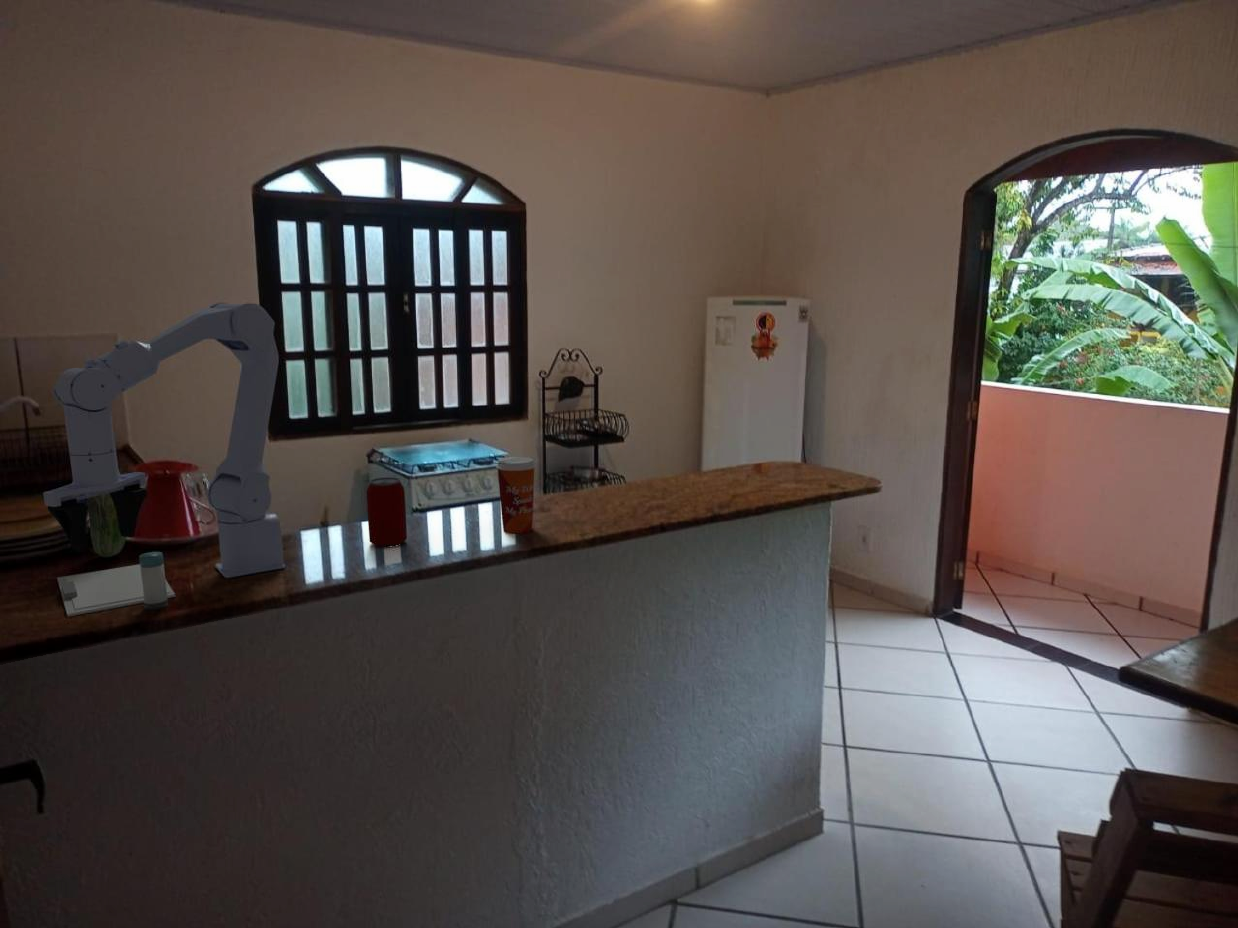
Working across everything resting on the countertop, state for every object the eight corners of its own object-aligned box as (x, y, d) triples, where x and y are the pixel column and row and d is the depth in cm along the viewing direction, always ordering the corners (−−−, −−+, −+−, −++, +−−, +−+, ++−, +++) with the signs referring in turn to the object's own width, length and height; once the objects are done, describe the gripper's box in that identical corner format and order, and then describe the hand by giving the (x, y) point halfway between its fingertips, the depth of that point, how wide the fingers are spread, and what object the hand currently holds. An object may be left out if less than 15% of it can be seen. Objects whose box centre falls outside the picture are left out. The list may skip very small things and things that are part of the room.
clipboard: (154, 564, 147) (153, 556, 147) (175, 596, 131) (174, 587, 131) (57, 580, 139) (56, 571, 138) (67, 616, 123) (66, 607, 123)
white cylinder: (166, 601, 129) (160, 550, 127) (169, 607, 127) (164, 555, 125) (143, 605, 127) (137, 554, 126) (146, 611, 125) (140, 559, 123)
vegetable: (128, 549, 155) (115, 440, 152) (138, 556, 151) (125, 445, 147) (90, 556, 151) (76, 445, 147) (99, 564, 147) (85, 449, 143)
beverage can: (410, 538, 162) (407, 476, 160) (403, 548, 156) (399, 484, 153) (374, 538, 162) (371, 476, 160) (365, 549, 155) (361, 484, 153)
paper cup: (509, 537, 163) (507, 465, 160) (490, 528, 169) (488, 459, 166) (545, 530, 167) (543, 460, 164) (525, 522, 173) (523, 454, 171)
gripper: (118, 442, 131) (129, 527, 134) (23, 459, 118) (37, 554, 121) (152, 445, 128) (162, 532, 131) (58, 463, 115) (72, 559, 118)
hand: (104, 543), depth 126 cm, fingers open, 7 cm apart
